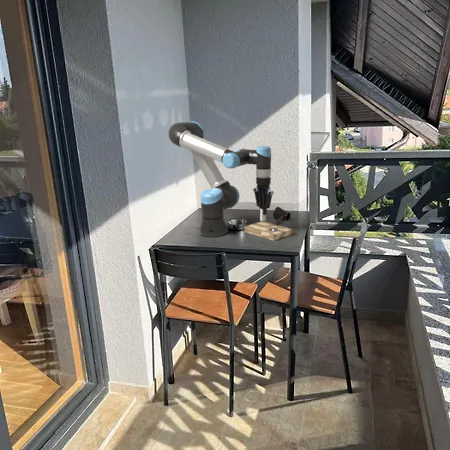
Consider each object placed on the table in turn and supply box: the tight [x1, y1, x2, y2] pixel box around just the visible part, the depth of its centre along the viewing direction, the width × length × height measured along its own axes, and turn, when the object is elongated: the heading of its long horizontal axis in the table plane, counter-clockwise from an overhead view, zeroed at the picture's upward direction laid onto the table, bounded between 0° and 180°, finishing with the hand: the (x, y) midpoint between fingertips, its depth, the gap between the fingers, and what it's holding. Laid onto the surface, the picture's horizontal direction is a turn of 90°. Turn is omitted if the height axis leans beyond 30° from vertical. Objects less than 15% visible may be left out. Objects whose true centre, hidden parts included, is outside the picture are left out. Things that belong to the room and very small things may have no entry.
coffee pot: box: [271, 206, 292, 225], centre depth 254 cm, size 8×18×8 cm
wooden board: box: [243, 220, 293, 241], centre depth 233 cm, size 14×22×3 cm, turn 40°
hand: (262, 220), depth 234 cm, fingers closed
